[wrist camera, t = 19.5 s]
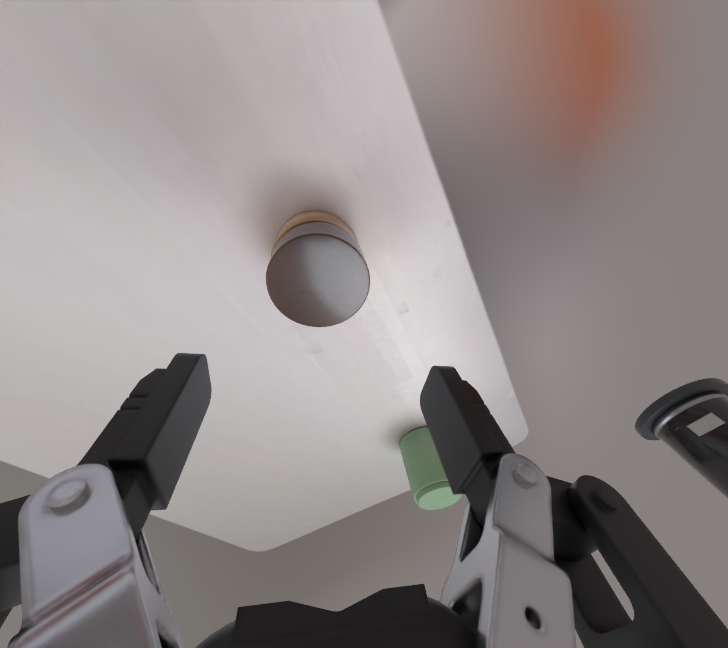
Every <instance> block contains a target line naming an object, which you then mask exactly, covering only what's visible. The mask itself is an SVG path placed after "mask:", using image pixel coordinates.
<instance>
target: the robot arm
mask: <svg viewBox="0 0 728 648" xmlns="http://www.w3.org/2000/svg"><path fill="white" fill-rule="evenodd" d="M210 399H211V382H210V376H209V370H208V364H207V358H206V356H205V355H204V354H189V353H178V354H176V355H175V357H174V358H173V359H172V361H171V363H170V364H169V366H168V367H167V369H155V370H154V371H152V372H151V373H150V374H148V375H147V376H145V377H144V378H143V379H141V380H140V381H139V382H138V384H137V385H136V387H135V388H134V389H133V391H132V392H131V393H130V396H129V398H127V399H126V400H125V402H124V403H123V404H122V406H121V408H120V410H118V411H117V412H116V414H115V415H114V416H113V418H112V419H111V421H110V422H109V423H108V425H107V426H106V427H105V429H104V430H103V431H102V433H101V434H100V436H99V437H98V438H97V440H96V441H95V442H94V444H93V445H92V446H91V448H90V449H89V451H88V452H87V453H86V455H85V456H84V457H83V459H82V460H81V461H80V462H79V464H78V465H77V466H75V467H72V468H70V469H67V470H65V471H63V472H61V473H59V474H57V475H55V476H53V477H52V478H50V479H48V480H47V481H46V482H44V483H43V484H42V485H40V486H39V487H38V488H37V489H36V490H35V491H34V492H33V493H32V494H31V495H27V496H24V497H21V498H18V499H14V500H11V501H7V502H4V503H1V504H0V628H1V626H2V624H3V623H4V621H5V619H6V618H7V616H8V614H9V612H10V611H11V609H12V608H13V607H15V606H17V605H20V604H22V625H21V629H20V631H19V633H18V634H17V635H15V636H14V637H13V638H12V639H11V640H10V642H9V644H8V647H7V648H183V646H182V643H181V639H180V636H179V634H178V630H177V627H176V625H175V622H174V619H173V616H172V614H171V612H170V609H169V607H168V605H167V602H166V599H165V597H164V594H163V591H162V587H161V584H160V581H159V578H158V575H157V571H156V568H155V565H154V562H153V559H152V556H151V552H150V549H149V546H148V543H147V540H146V537H145V533H144V530H143V526H144V524H145V521H146V519H147V517H148V515H149V513H150V510H165V509H166V508H167V506H168V504H169V501H170V499H171V496H172V494H173V491H174V489H175V486H176V484H177V482H178V479H179V477H180V474H181V472H182V469H183V467H184V465H185V462H186V460H187V457H188V455H189V452H190V450H191V448H192V445H193V443H194V440H195V438H196V435H197V433H198V431H199V428H200V426H201V423H202V421H203V418H204V416H205V413H206V411H207V409H208V406H209V403H210ZM420 406H421V410H422V413H423V415H424V418H425V421H426V423H427V426H428V429H429V431H430V434H431V437H432V439H433V442H434V445H435V447H436V450H437V453H438V456H439V458H440V461H441V464H442V466H443V469H444V472H445V474H446V477H447V480H448V482H449V485H450V488H451V490H452V493H453V495H456V494H466V496H467V498H468V501H469V502H468V504H467V505H466V508H465V512H464V517H463V521H462V526H461V530H460V535H459V539H458V544H457V548H456V553H455V558H454V562H453V565H452V568H451V571H450V573H449V575H448V577H447V579H446V582H445V584H444V587H443V590H442V593H441V597H440V601H437V600H435V599H432V598H430V597H427V595H426V590H425V586H424V584H419V585H411V586H403V587H395V588H387V589H382V590H380V591H378V592H376V593H374V594H372V595H371V596H369V597H367V598H365V599H363V600H361V601H359V602H358V603H356V604H353V605H352V606H350V607H348V608H346V609H344V610H342V611H338V612H335V611H329V610H325V609H320V608H317V607H312V606H308V605H304V604H299V603H295V602H291V601H284V602H277V603H269V604H261V605H253V606H244V607H239V608H238V611H237V616H236V620H235V621H233V622H231V623H229V624H227V625H225V626H224V627H222V628H221V629H219V630H218V631H216V632H214V633H213V634H211V635H210V636H209V637H208V638H206V639H205V640H204V641H203V642H201V643H200V644H199V645H198V646H197V647H196V648H576V637H575V629H576V631H577V633H578V635H579V637H580V640H581V642H582V644H583V646H584V648H728V629H727V628H726V627H725V625H724V624H723V623H722V622H721V620H720V619H719V618H718V616H717V615H716V614H715V613H714V611H713V610H712V609H711V608H710V606H709V605H708V604H707V602H706V601H705V600H704V599H703V597H702V596H701V595H700V594H699V593H698V591H697V590H696V589H695V588H694V586H693V585H692V584H691V582H690V581H689V580H688V579H687V577H686V576H685V575H684V574H683V572H682V571H681V570H680V569H679V567H678V566H677V565H676V563H675V562H674V561H673V560H672V558H671V557H670V556H669V555H668V553H667V552H666V551H665V550H664V548H663V547H662V546H661V545H660V543H659V542H658V541H657V539H656V538H655V537H654V536H653V534H652V533H651V532H650V531H649V529H648V528H647V527H646V526H645V524H644V523H643V522H642V521H641V519H640V518H639V517H638V516H637V514H636V513H635V512H634V510H633V509H632V508H631V507H630V505H629V504H628V503H627V502H626V500H625V499H624V498H623V497H622V496H621V495H620V494H619V493H618V492H617V491H616V490H615V489H614V488H613V487H611V486H610V485H608V484H607V483H605V482H604V481H602V480H600V479H598V478H596V477H593V476H588V475H584V476H581V477H579V478H578V479H577V480H576V481H575V482H574V483H573V484H571V483H568V482H565V481H562V480H558V479H555V478H552V477H548V476H545V474H544V473H543V471H542V470H541V469H540V468H539V467H538V466H537V465H536V464H535V463H534V462H532V461H531V460H529V459H528V458H526V457H524V456H522V455H519V454H516V453H515V452H514V450H513V449H512V447H511V445H510V444H509V442H508V440H507V439H506V437H505V436H504V434H503V432H502V431H501V429H500V427H499V426H498V424H497V423H496V421H495V419H494V418H493V416H492V415H490V411H489V410H488V408H487V406H486V405H484V402H483V400H482V398H481V397H480V395H479V394H478V392H477V390H475V389H474V388H473V387H472V386H471V385H470V384H469V383H468V382H467V381H464V380H462V379H461V377H460V376H459V374H458V372H457V371H456V369H455V368H454V367H450V366H433V367H432V368H431V370H430V372H429V375H428V377H427V380H426V382H425V384H424V387H423V389H422V392H421V395H420ZM651 432H652V433H653V434H654V435H655V436H656V437H657V438H658V439H660V440H662V441H663V442H664V443H665V444H666V445H667V446H669V447H670V448H671V449H672V450H673V451H674V452H675V453H676V454H678V455H679V456H680V457H681V458H682V459H683V460H684V461H685V462H686V463H688V464H689V465H690V466H691V467H692V468H693V469H694V470H695V471H697V472H698V473H699V474H700V475H701V476H702V477H703V478H705V479H706V480H707V481H708V482H709V483H710V484H711V485H712V486H713V487H715V488H716V489H717V490H718V491H719V492H720V493H721V494H722V495H724V496H725V497H726V498H727V499H728V396H726V395H724V394H723V393H721V392H719V391H708V392H703V393H700V394H696V395H694V396H691V397H689V398H686V399H684V400H682V401H680V402H678V403H677V404H675V405H673V406H672V407H670V408H669V409H667V410H666V411H665V412H663V413H662V414H661V415H660V416H659V417H658V418H657V419H656V420H655V421H654V423H653V424H652V426H651ZM597 549H598V550H599V552H600V553H601V555H602V556H603V558H604V559H605V561H606V563H607V564H608V566H609V567H610V569H611V570H612V572H613V574H614V575H615V577H616V578H617V580H618V581H619V583H620V585H621V586H622V588H623V590H624V591H625V593H626V594H627V596H628V597H629V599H630V601H631V603H632V606H633V609H634V620H633V621H632V620H631V619H630V617H629V616H628V614H627V613H626V611H625V610H624V608H623V607H622V605H621V603H620V601H619V600H618V598H617V596H616V595H615V593H614V591H613V590H612V588H611V587H610V585H609V583H608V582H607V580H606V578H605V577H604V575H603V573H602V572H601V570H600V568H599V567H598V565H597V563H596V562H595V560H594V558H593V557H592V555H591V553H593V552H594V551H596V550H597Z"/></svg>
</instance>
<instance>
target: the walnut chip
mask: <svg viewBox="0 0 728 648" xmlns="http://www.w3.org/2000/svg"><path fill="white" fill-rule="evenodd" d="M266 285H267V290H268V293H269V296H270V298H271V300H272V302H273V303H274V305H275V306H276V307H277V309H278V310H279V311H280V312H281V313H283V314H284V315H285V316H286V317H288V318H289V319H291V320H293V321H295V322H297V323H300V324H303V325H307V326H312V327H326V326H332V325H335V324H339V323H341V322H343V321H345V320H347V319H349V318H350V317H351V316H353V315H354V314H355V313H356V312H357V311H358V310H359V309H360V308H361V306H362V305H363V303H364V302H365V300H366V297H367V295H368V292H369V286H370V275H369V270H368V267H367V264H366V261H365V259H364V256H363V254H362V251H361V249H360V247H359V245H358V244H357V242H356V241H355V239H354V238H353V237H352V236H351V235H350V234H349V233H348V232H346V231H345V230H343V229H342V228H340V227H338V226H335V225H333V224H330V223H325V222H308V223H303V224H301V225H298V226H296V227H294V228H292V229H290V230H289V231H287V232H286V233H285V234H284V235H283V236H282V237H281V238H280V240H279V241H278V243H277V244H276V246H275V248H274V251H273V254H272V256H271V259H270V262H269V265H268V268H267V272H266Z"/></svg>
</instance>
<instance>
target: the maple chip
mask: <svg viewBox="0 0 728 648" xmlns="http://www.w3.org/2000/svg"><path fill="white" fill-rule="evenodd" d="M308 222H325V223H330V224H333V225H335V226H338V227H340V228H342V229H343V230H345V231H346V232H348V233H349V234H350V235H351V236H352V237H353V238H354V239H355V241H356V242H357V239H356V237H355V235H354V233H353V231H352V230H351V228H350V227H349V226H348V225H347V224H346V223H345V222H344V221H343V220H341V219H340V218H338V217H337V216H335V215H333V214H330V213H327V212H322V211H309V212H304V213H301V214H298V215H296V216H294V217H293V218H291V219H290V220H289V221H287V222H286V223H285V224H284V226H283V227H282V228H281V230H280V232H279V234H278V236H277V239H276V242H275V244H274V247H273V249H272V253H271V256H272V254H273V251H274V248H275V246H276V244H277V243H278V241H279V240H280V238H281V237H282V236H283V235H284V234H285V233H286V232H287V231H289V230H290V229H292V228H294V227H296V226H298V225H301V224H303V223H308ZM357 244H358V242H357ZM358 245H359V244H358Z"/></svg>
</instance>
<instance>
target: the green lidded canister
mask: <svg viewBox="0 0 728 648" xmlns="http://www.w3.org/2000/svg"><path fill="white" fill-rule="evenodd" d="M399 446H400V450H401V454H402V457H403V461H404V465H405V469H406V472H407V476H408V480H409V484H410V487H411V491H412V495H413V499H414V501H415V502H416V503H418V506H419V507H420V508H422V509H426V510H436V509H441V508H444V507H447V506H450V505H452V504H454V503H455V502H457V501H458V500H459V499H460V498H461V497H462V495H463V494H456V495H453V493H452V490H451V488H450V485H449V482H448V480H447V477H446V474H445V472H444V469H443V466H442V464H441V461H440V458H439V456H438V453H437V450H436V447H435V445H434V442H433V439H432V437H431V434H430V431H429V429H428V427H423V428H418V429H415V430H412V431H410V432H409V433H407V434H406V435H404V436H403V438H402V439H401V441H400V444H399Z"/></svg>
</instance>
